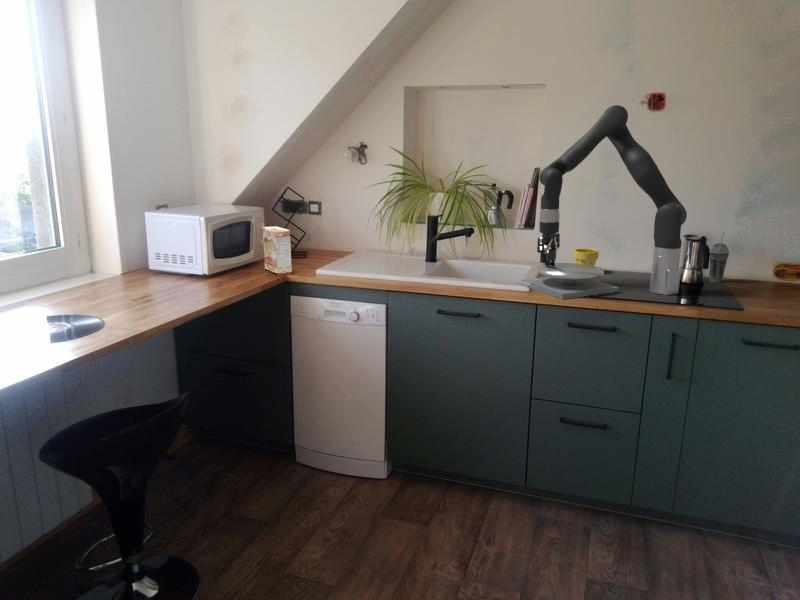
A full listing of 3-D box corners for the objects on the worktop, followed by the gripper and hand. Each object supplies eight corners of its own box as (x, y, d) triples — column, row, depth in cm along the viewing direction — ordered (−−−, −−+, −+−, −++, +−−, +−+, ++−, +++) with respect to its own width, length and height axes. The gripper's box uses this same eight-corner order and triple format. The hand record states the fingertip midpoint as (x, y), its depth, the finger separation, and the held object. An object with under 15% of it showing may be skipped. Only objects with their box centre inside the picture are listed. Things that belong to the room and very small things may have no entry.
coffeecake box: (264, 270, 270) (261, 227, 266) (279, 268, 274) (277, 225, 270) (277, 276, 258) (274, 230, 254) (292, 274, 262) (290, 229, 257)
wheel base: (618, 292, 228) (619, 277, 226) (562, 299, 218) (563, 283, 217) (573, 279, 251) (574, 265, 250) (521, 284, 241) (521, 270, 240)
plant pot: (576, 274, 260) (577, 252, 258) (569, 269, 270) (571, 248, 268) (600, 274, 260) (602, 252, 258) (592, 269, 270) (594, 248, 268)
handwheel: (590, 266, 246) (591, 248, 244) (613, 279, 221) (615, 259, 220) (529, 266, 245) (530, 248, 243) (546, 279, 220) (547, 259, 219)
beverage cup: (701, 280, 249) (707, 231, 244) (713, 278, 252) (719, 230, 247) (717, 283, 243) (724, 234, 238) (729, 281, 246) (735, 232, 241)
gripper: (549, 217, 243) (547, 257, 247) (531, 221, 232) (530, 263, 236) (566, 218, 238) (565, 259, 242) (549, 223, 228) (548, 265, 232)
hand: (548, 261), depth 239 cm, fingers open, 8 cm apart
